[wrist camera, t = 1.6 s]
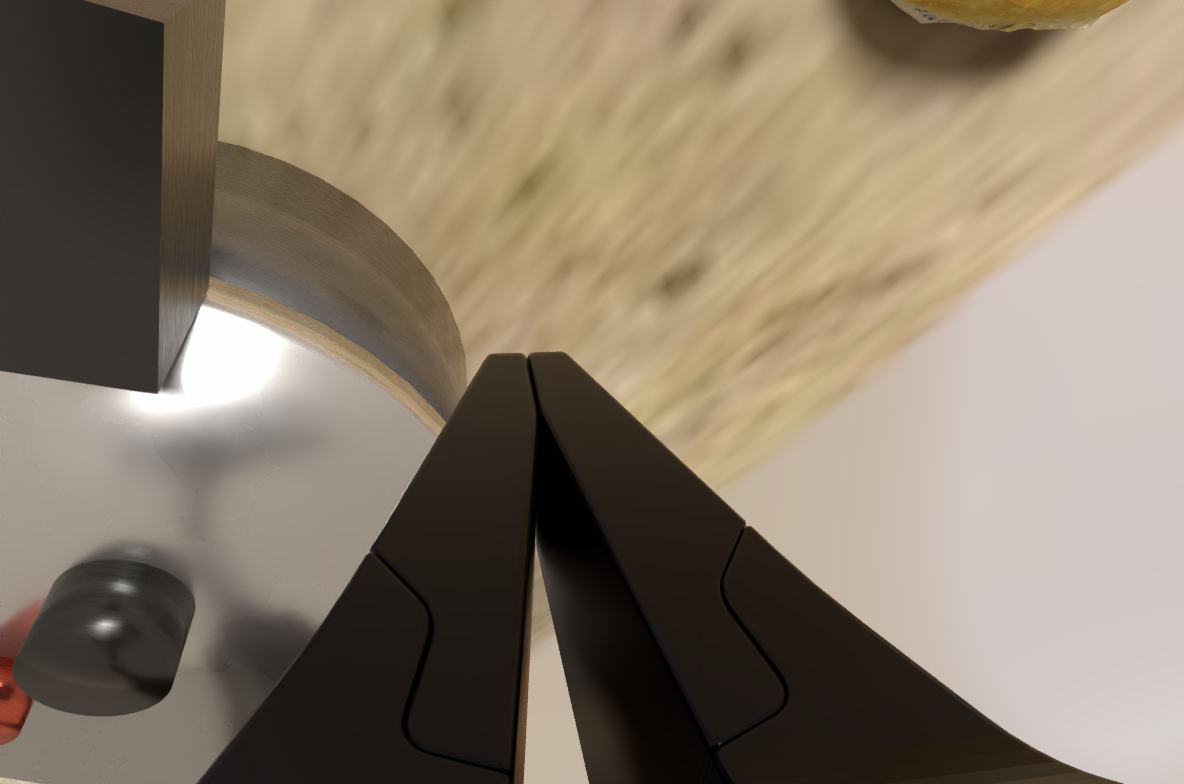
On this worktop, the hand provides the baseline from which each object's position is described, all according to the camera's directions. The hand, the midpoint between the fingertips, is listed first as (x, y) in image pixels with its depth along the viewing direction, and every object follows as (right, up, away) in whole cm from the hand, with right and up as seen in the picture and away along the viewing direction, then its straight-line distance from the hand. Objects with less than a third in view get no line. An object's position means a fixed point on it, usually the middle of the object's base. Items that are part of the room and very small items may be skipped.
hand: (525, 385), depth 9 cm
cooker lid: (-9, -2, +7) cm, 12 cm away
